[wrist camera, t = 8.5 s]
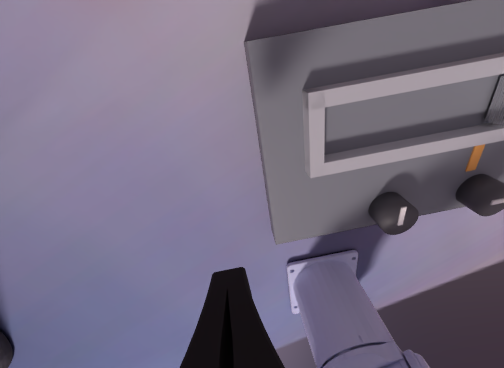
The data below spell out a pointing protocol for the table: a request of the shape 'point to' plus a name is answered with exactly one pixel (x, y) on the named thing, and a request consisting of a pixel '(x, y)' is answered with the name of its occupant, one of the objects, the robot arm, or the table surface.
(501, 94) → the fader tab
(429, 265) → the table surface
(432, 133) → the console board
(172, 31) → the table surface
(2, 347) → the planter
